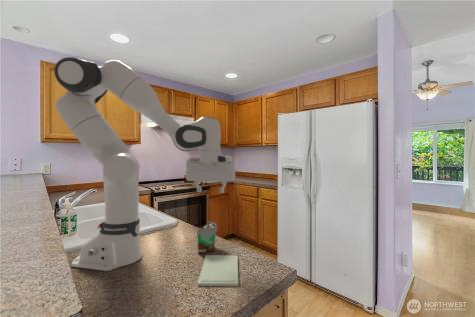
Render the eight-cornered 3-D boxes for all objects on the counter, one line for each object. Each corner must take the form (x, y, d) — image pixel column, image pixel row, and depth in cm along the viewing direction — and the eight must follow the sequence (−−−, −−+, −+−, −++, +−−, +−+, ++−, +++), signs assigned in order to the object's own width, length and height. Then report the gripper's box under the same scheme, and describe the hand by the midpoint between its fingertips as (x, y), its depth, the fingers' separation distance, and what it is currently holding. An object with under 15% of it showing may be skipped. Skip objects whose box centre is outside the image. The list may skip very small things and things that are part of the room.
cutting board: (197, 285, 66) (197, 282, 66) (205, 257, 85) (206, 254, 85) (238, 286, 66) (238, 283, 66) (237, 257, 85) (237, 255, 85)
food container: (211, 257, 86) (212, 230, 86) (196, 255, 87) (197, 229, 87) (220, 244, 98) (221, 222, 98) (207, 243, 99) (207, 220, 99)
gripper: (182, 158, 89) (183, 192, 89) (232, 157, 84) (232, 194, 85) (189, 158, 95) (190, 190, 96) (236, 157, 91) (236, 191, 91)
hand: (210, 192), depth 90 cm, fingers open, 8 cm apart
